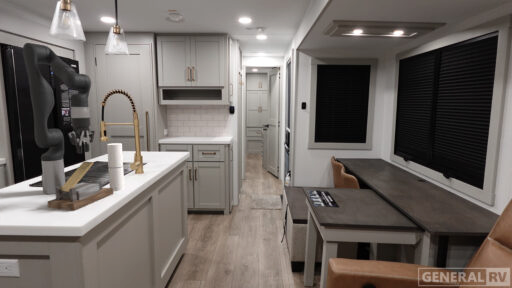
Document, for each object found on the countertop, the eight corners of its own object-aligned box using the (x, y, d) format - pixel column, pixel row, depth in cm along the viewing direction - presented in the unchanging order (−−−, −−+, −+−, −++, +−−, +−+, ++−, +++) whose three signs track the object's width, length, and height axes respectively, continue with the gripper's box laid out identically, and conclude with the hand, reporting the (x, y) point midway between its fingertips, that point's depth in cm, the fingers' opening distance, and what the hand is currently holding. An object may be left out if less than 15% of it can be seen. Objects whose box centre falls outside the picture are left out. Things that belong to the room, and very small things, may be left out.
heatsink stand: (48, 207, 125) (46, 188, 124) (90, 191, 149) (89, 175, 147) (74, 210, 123) (72, 190, 121) (113, 193, 146) (112, 177, 144)
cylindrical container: (108, 191, 150) (105, 145, 147) (111, 187, 157) (108, 143, 153) (123, 190, 152) (120, 144, 148) (125, 186, 159) (123, 143, 155)
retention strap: (60, 191, 126) (58, 189, 125) (85, 163, 139) (83, 161, 138) (70, 192, 125) (68, 190, 124) (93, 163, 138) (92, 161, 137)
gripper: (85, 116, 140) (88, 150, 142) (60, 117, 126) (63, 154, 128) (98, 116, 138) (101, 150, 141) (74, 117, 125) (77, 155, 127)
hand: (83, 152), depth 135 cm, fingers open, 3 cm apart
